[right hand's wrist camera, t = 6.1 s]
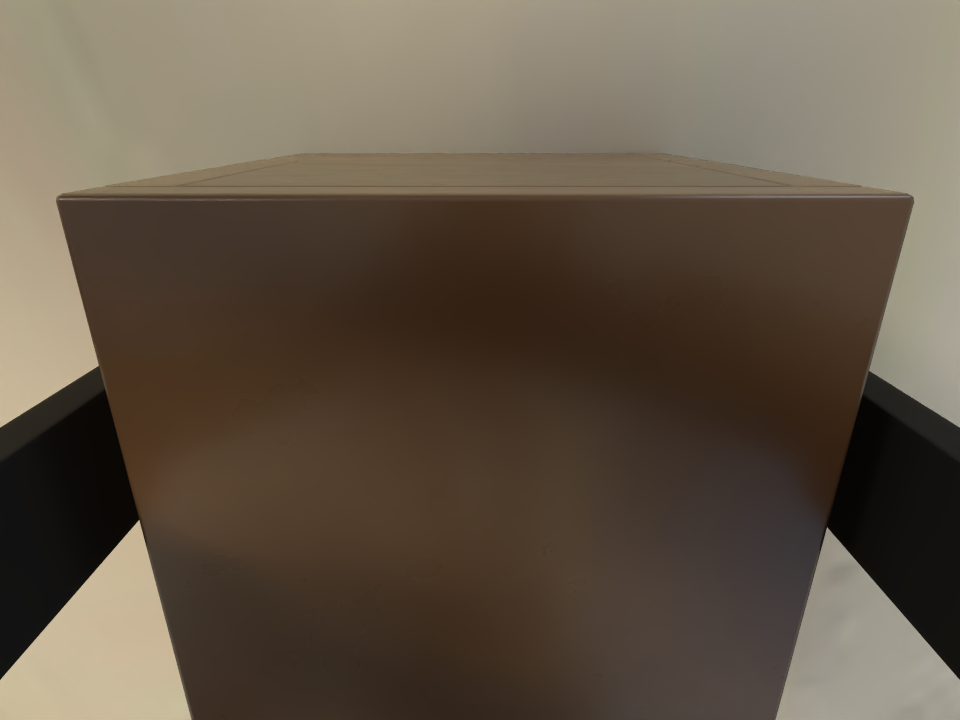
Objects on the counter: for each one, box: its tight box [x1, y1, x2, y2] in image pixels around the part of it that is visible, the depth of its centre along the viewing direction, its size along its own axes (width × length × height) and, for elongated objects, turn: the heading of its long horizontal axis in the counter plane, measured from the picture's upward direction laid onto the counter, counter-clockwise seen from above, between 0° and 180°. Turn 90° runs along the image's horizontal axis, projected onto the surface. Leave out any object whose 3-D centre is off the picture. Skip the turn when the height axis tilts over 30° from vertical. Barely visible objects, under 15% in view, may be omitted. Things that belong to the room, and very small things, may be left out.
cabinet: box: [56, 154, 914, 720], centre depth 15 cm, size 20×10×10 cm, turn 0°
